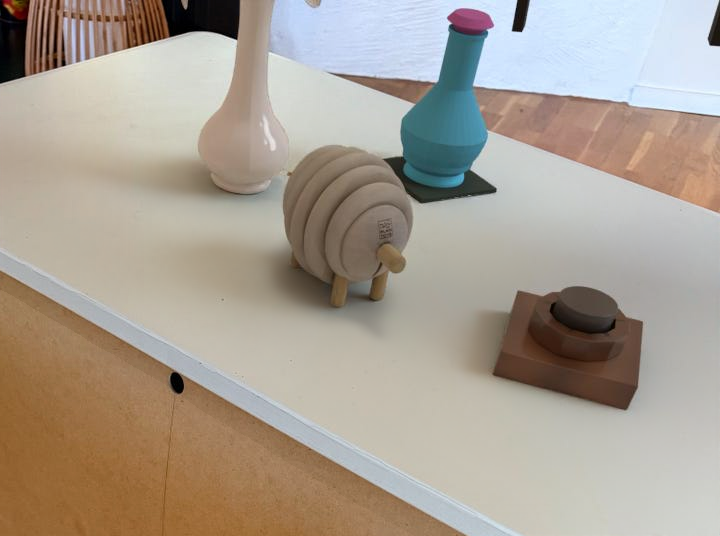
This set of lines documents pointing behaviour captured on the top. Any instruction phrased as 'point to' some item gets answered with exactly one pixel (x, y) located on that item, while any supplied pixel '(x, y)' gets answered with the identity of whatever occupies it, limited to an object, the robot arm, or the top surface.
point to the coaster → (428, 193)
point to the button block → (570, 353)
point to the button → (585, 310)
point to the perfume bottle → (449, 109)
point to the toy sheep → (347, 219)
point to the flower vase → (247, 112)
